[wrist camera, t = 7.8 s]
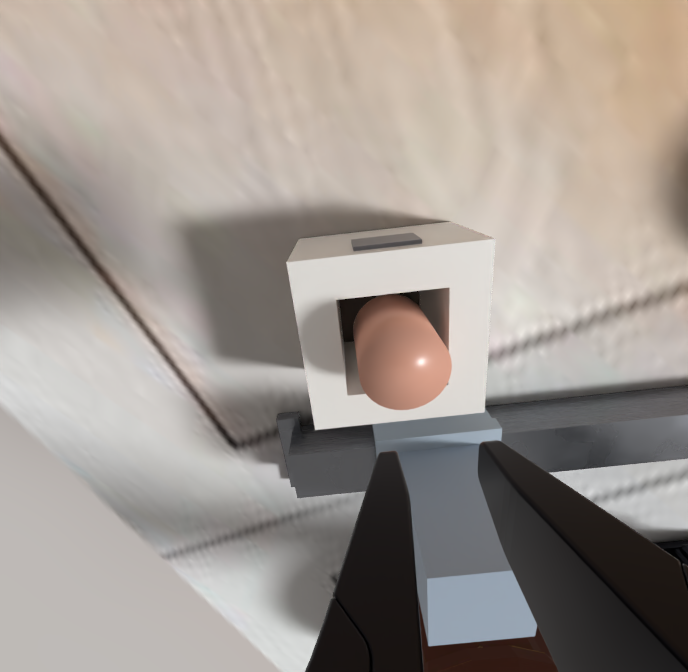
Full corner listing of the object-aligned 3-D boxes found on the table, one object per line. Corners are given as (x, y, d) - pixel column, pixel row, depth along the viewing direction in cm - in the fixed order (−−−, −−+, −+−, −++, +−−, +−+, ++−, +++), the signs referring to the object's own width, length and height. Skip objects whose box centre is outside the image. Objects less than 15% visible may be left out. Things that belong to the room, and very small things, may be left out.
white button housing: (448, 356, 19) (484, 412, 15) (319, 370, 20) (315, 430, 15) (450, 218, 17) (495, 234, 12) (298, 235, 17) (285, 257, 12)
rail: (719, 435, 22) (762, 464, 20) (292, 479, 23) (288, 512, 20) (747, 364, 20) (798, 387, 18) (278, 413, 21) (271, 442, 18)
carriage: (474, 469, 22) (559, 645, 14) (376, 479, 22) (402, 660, 14) (478, 392, 20) (582, 547, 12) (369, 403, 20) (395, 566, 12)
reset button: (426, 357, 15) (451, 405, 12) (356, 365, 15) (362, 414, 12) (425, 290, 14) (452, 323, 11) (349, 298, 14) (354, 334, 11)
